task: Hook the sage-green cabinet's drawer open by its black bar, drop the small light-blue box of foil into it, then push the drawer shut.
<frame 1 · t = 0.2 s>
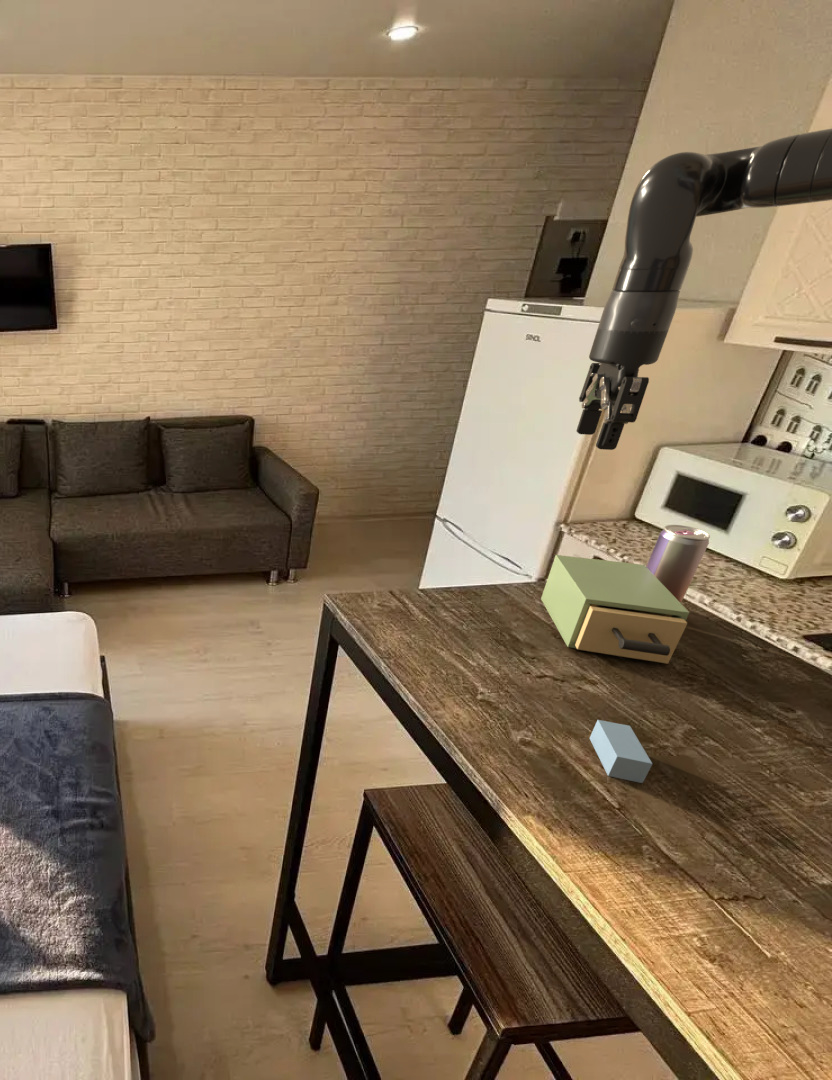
hand: (594, 441, 86), 32 cm above the table, tool pointing down, fingers open, 8 cm apart
foil box: (614, 759, 72), on the table
beverage can: (652, 609, 101), on the table
drawer: (617, 619, 91), point 5 cm above the table, slide at 0.5 cm
cabinet: (597, 627, 97), on the table
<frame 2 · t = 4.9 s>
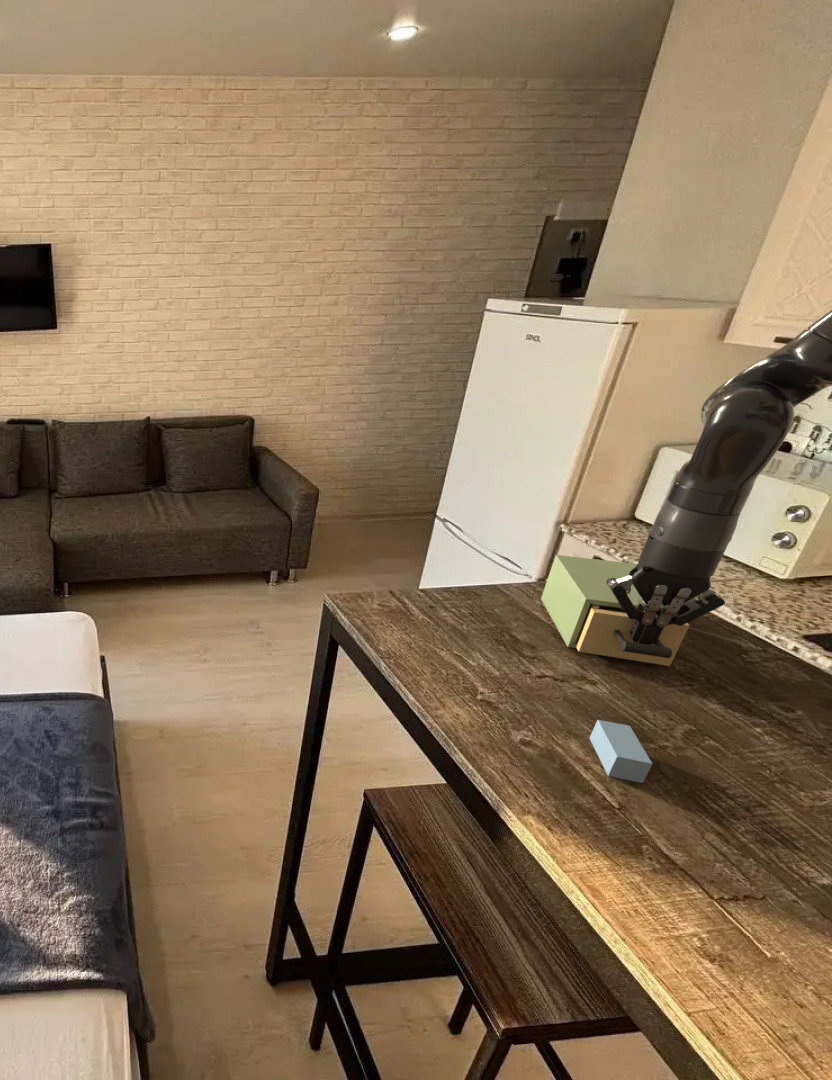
hand: (639, 643, 84), 5 cm above the table, tool pointing down, fingers closed
drawer: (619, 621, 90), point 5 cm above the table, slide at 1.1 cm, touching gripper
everything else where it was.
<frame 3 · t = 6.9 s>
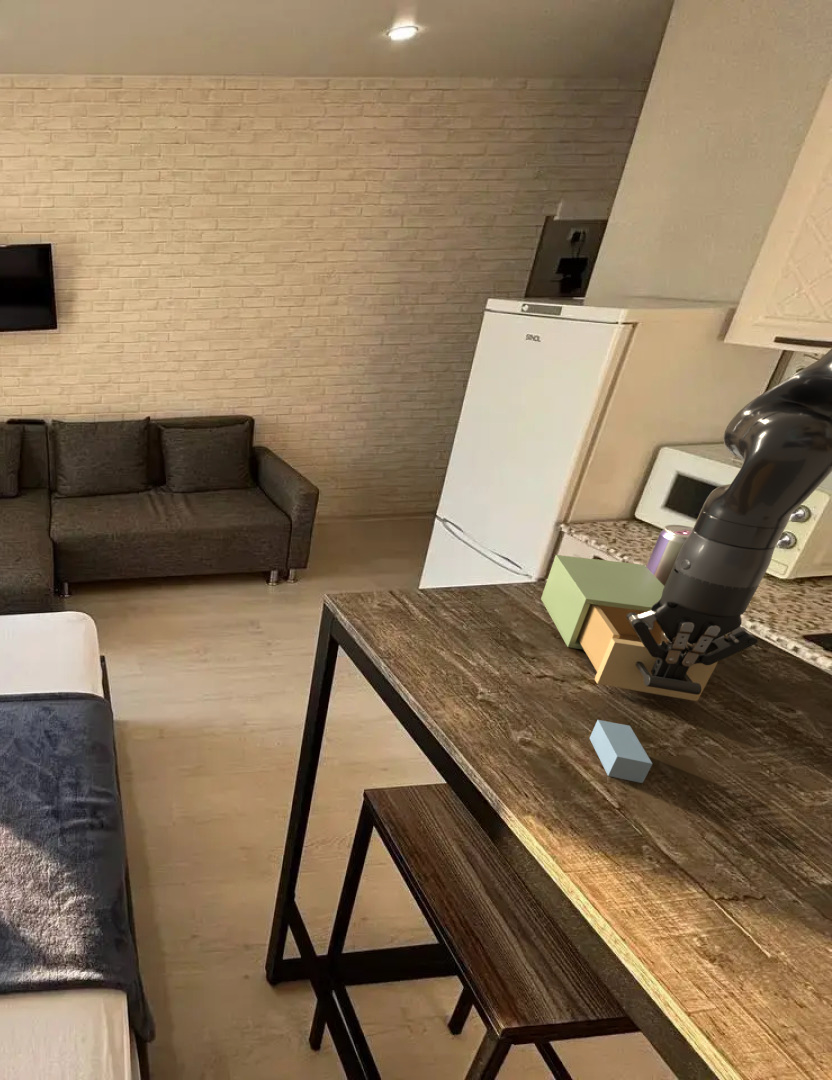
hand: (662, 682, 78), 4 cm above the table, tool pointing down, fingers closed
drawer: (641, 651, 84), point 5 cm above the table, slide at 9.2 cm
everything else where it was.
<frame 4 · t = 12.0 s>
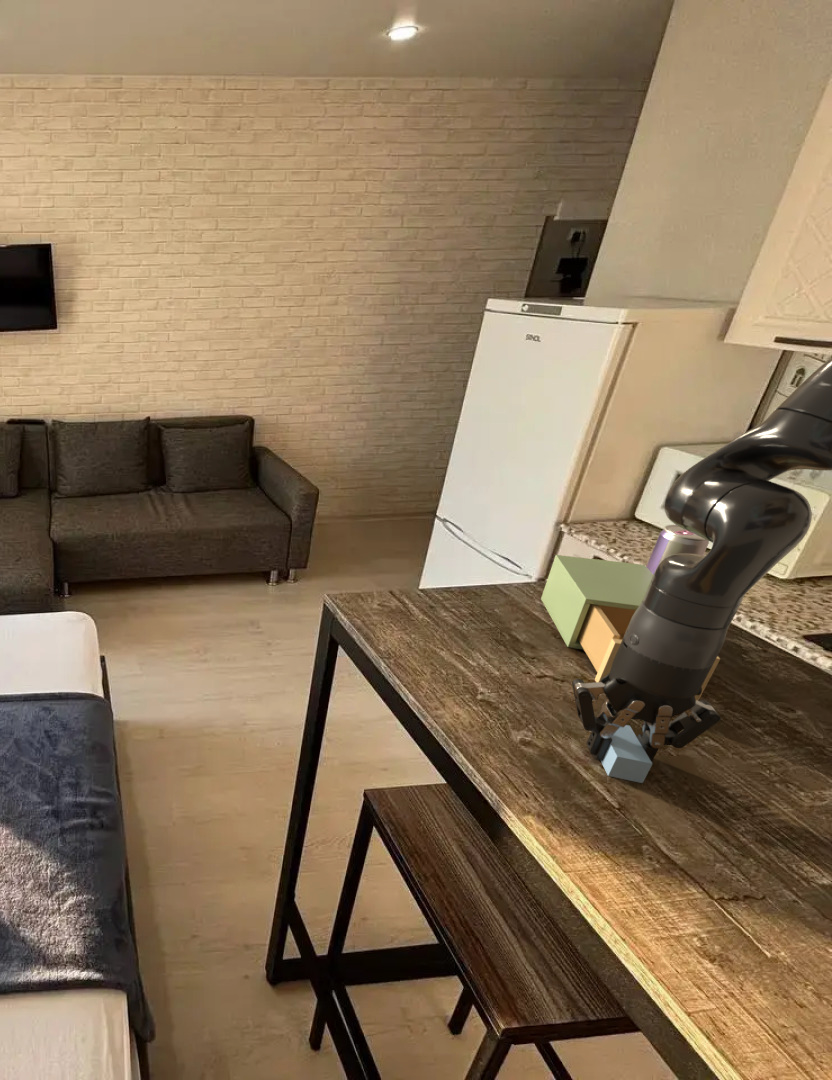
hand: (615, 758, 72), 0 cm above the table, tool pointing down, fingers closed on foil box, 3 cm apart
foil box: (614, 759, 72), on the table, touching gripper
everything else where it was.
when the fingers open (7 cm above the table, at t = 18.5 s): foil box drops 5 cm, resting on drawer.
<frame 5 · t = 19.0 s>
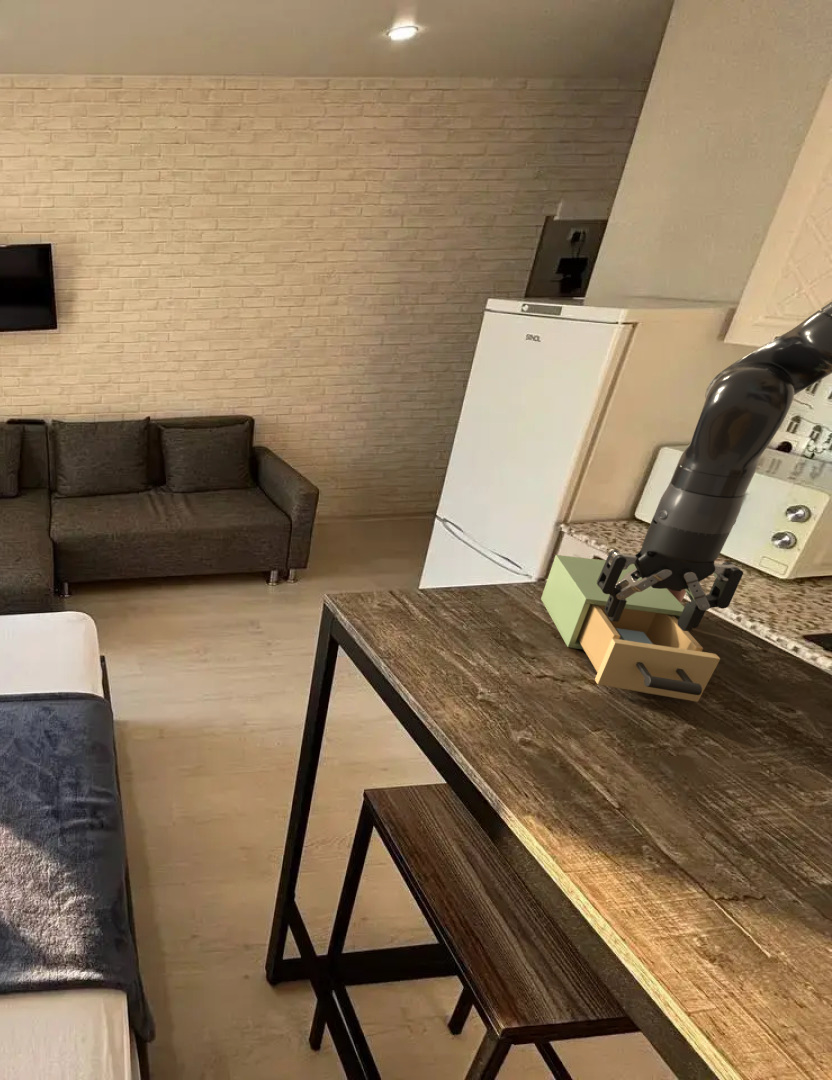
hand: (647, 623, 83), 8 cm above the table, tool pointing down, fingers open, 8 cm apart
foil box: (630, 659, 86), point 2 cm above the table, touching drawer
drawer: (641, 651, 83), point 5 cm above the table, slide at 9.3 cm, touching foil box
everything else where it was.
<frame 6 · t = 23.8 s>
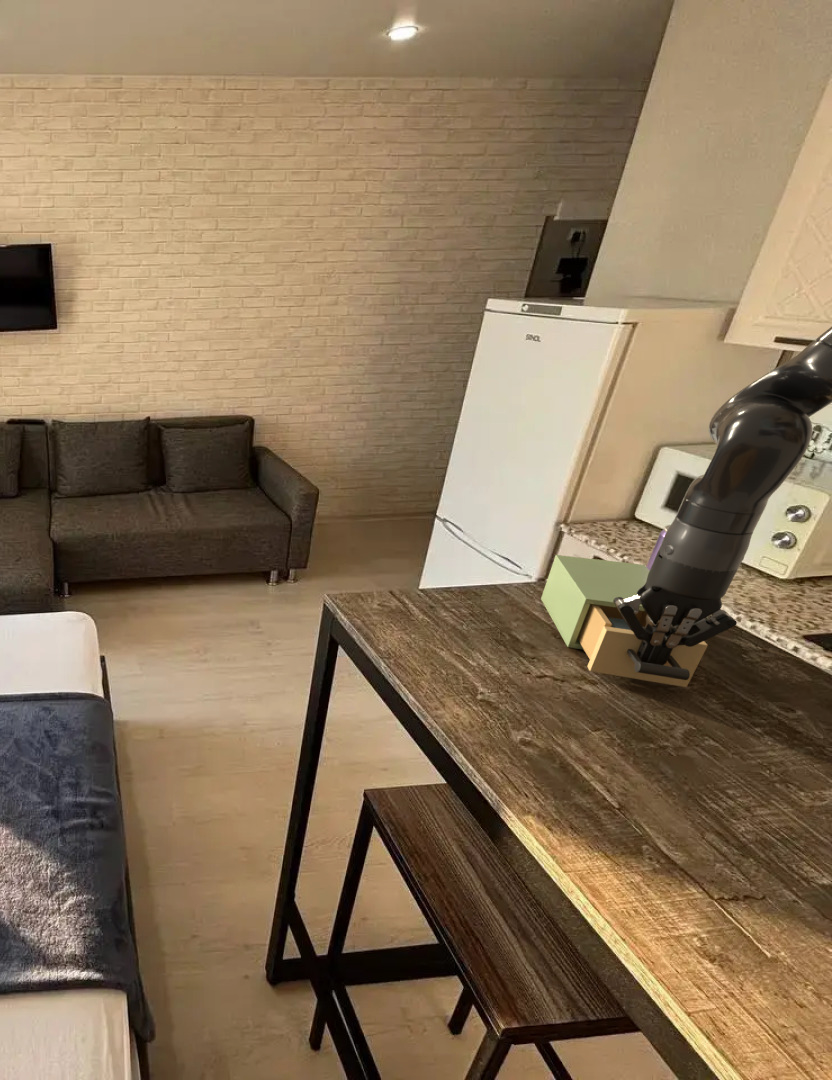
hand: (648, 664, 81), 4 cm above the table, tool pointing down, fingers closed
foil box: (622, 647, 89), point 2 cm above the table, touching drawer
drawer: (632, 639, 86), point 5 cm above the table, slide at 6.2 cm, touching foil box, gripper
everything else where it was.
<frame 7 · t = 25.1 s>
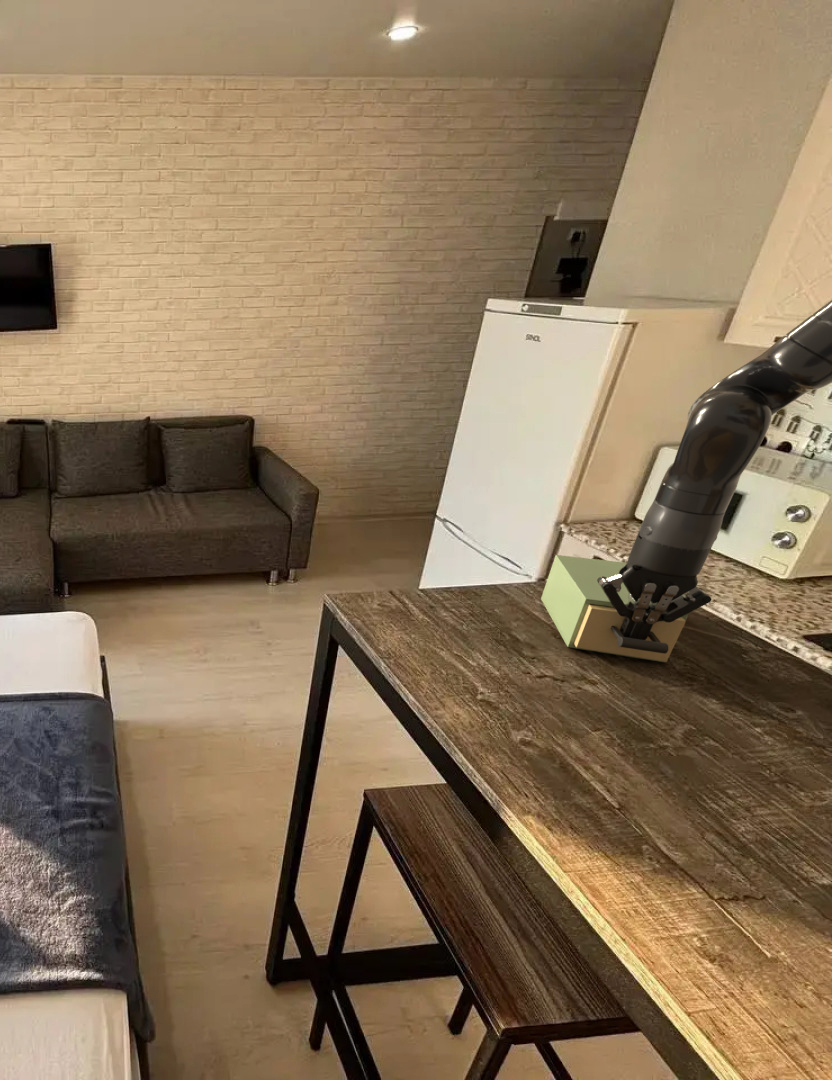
hand: (630, 639, 86), 4 cm above the table, tool pointing down, fingers closed
foil box: (607, 625, 94), point 2 cm above the table, touching drawer
drawer: (616, 618, 91), point 5 cm above the table, slide at 0.0 cm, touching cabinet, foil box, gripper
everything else where it was.
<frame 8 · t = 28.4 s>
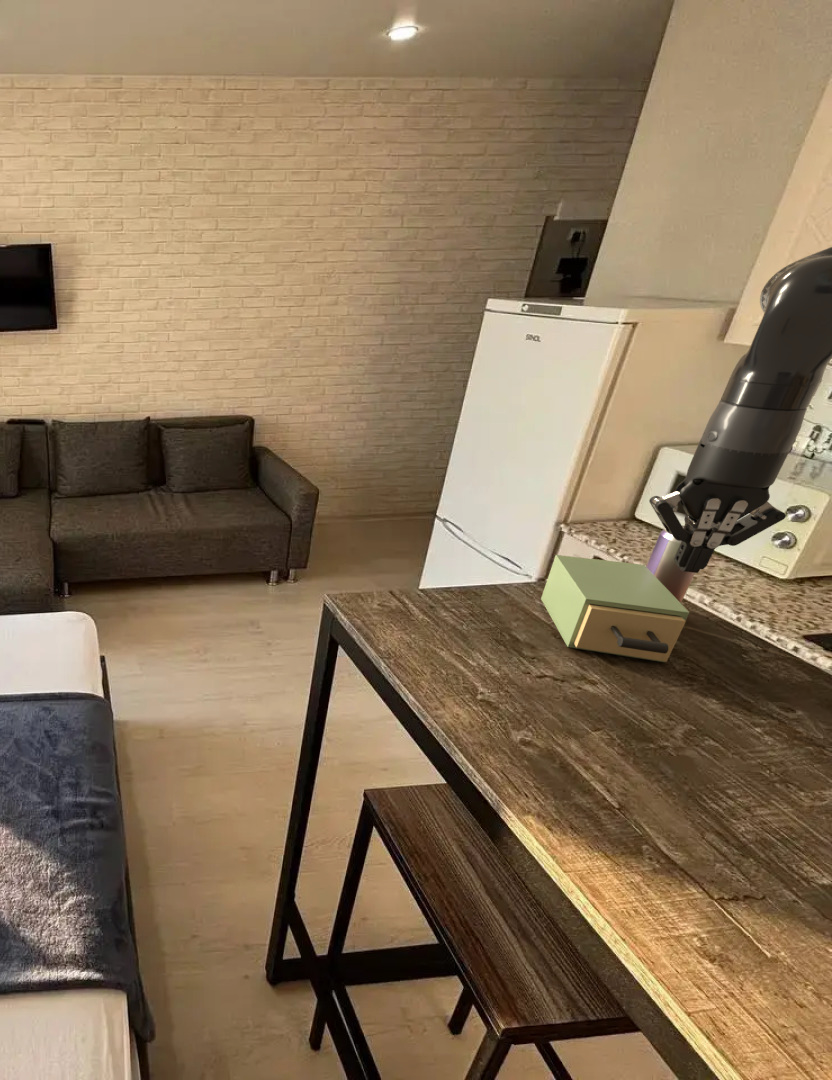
hand: (686, 569, 76), 19 cm above the table, tool pointing down, fingers closed
drawer: (616, 618, 91), point 5 cm above the table, slide at 0.0 cm, touching foil box
everything else where it was.
at the end: drawer pulled out 9.3 cm at the most during the clip, back to where it started at the end; foil box inside the target area in the cabinet (2.4 cm from its centre), point 2.0 cm above the cabinet's base; drawer slide at 0.0 cm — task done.
